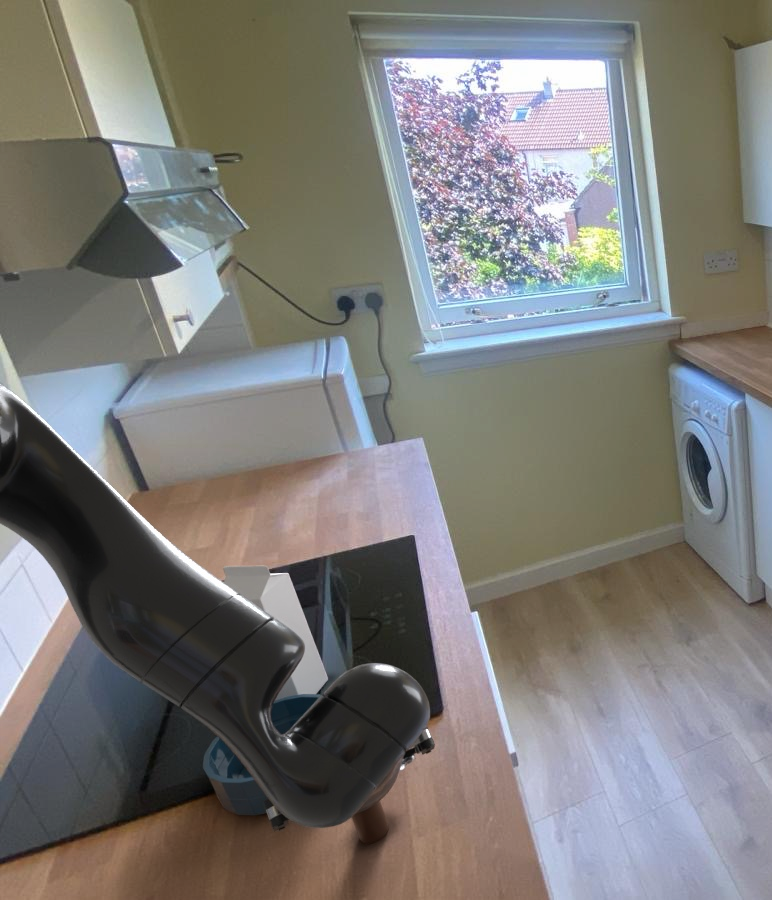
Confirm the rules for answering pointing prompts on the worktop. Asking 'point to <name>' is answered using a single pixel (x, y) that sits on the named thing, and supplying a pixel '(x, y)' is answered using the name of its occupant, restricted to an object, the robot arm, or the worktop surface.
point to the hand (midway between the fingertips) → (354, 780)
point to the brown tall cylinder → (371, 823)
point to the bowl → (232, 775)
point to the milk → (281, 620)
